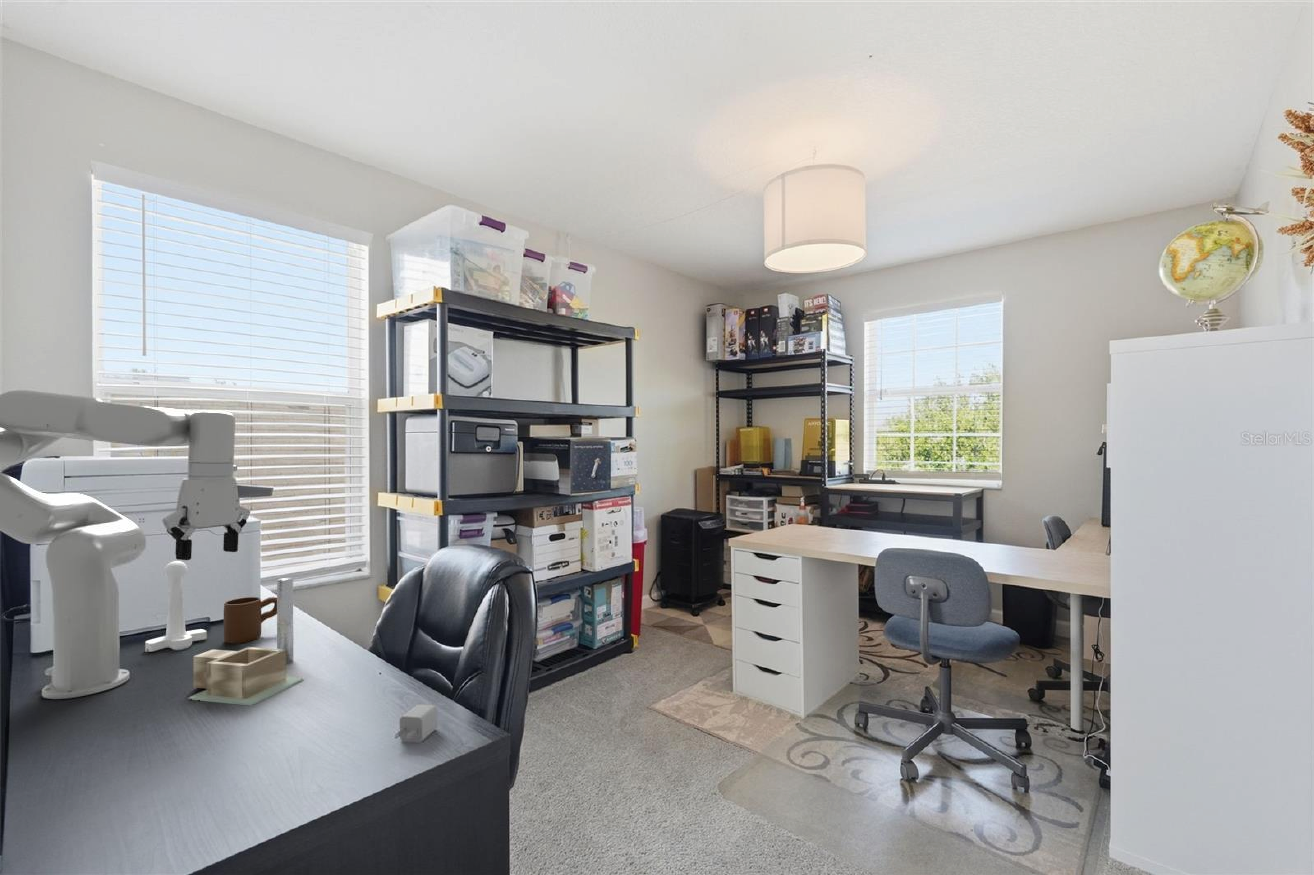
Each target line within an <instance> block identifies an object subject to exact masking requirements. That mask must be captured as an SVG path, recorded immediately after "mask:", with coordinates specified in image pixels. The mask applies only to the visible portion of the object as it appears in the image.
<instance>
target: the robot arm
mask: <svg viewBox="0 0 1314 875" xmlns="http://www.w3.org/2000/svg"><path fill="white" fill-rule="evenodd" d="M62 438H66V439H75V440H82V441H83V440H85V441H89V442H90V441H97V442H104V443H105V442H107V443H115V444H123V445H124V444H125V445H132V446H133V445H134V446H146V447H163V446H164V447H180V446H183V447H184V446H188V457H187V460H188V461H187V462H188V464H187V478H182V481H181V484H180V488H179V491H178V492H179V493H178V496H177V503H176V510H175V511H174V512H172V513H170V514H169V515H167V516H165V517H163V518H162V519H161V520H162V523H163V525H164V527H165V529H166V532H167V533H168V534H169V535H170V536H171V537H172V539H173V540H175V554H174V555H175V558H176V560H177V561H190V560H191V559H192V548H193V547H192V546H193V541H192V539H190V537H191V536H192V534H193V533H194V532H195V531H196V530H201V529H208V528H215V527H216V528H217V527H223V528H224V529H225V531H224V533H223V548H222V549H223V552H229V553H237V552H238V549H239V534H240V533H241V532H242V531H243V528H244V526H245V525H246V524H247V522H248V519H249V517H250V514H251V510H250V509H247V508H246V507H243V506H241V505H240V504H239V502H240V501H239V490H238V484H237V480H236V478H235V477H234V473H235V472H237V470H238V466H237V465H235V462H234V461H235V442H236V440H235V439H236V418H235V415H234V414H233V413H231V412H227V411H214V410H213V411H212V410H197V411H190V410H185V409H177V408H167V407H153V406H142V405H133V404H124V403H116V402H115V403H114V402H106V401H103V400H102V399H100V398H98V397H92V396H91V397H90V396H83V395H82V396H81V395H72V394H71V395H70V394H65V393H57V392H56V393H55V392H46V391H35V390H26V389H25V390H24V389H19V390H18V389H17V390H11V391H7V392H3V393H1V394H0V468H3V467H10V466H11V467H12V466H13V465H17V464H19V463H22V462H24V461H26V460H27V459H29V458H31V457H32V456H34V455H36V454H38V453H40V451H43V450H44V449H45V448H47V447H48V446H51V445H52V444H53V443H56V442H57V441H58V440H60V439H62ZM0 532H2V533H3V534H5V535H7V536H8V537H11V538H12V539H14V540H16V541H18V542H20V543H22V544H30V545H34V544H35V545H36V544H37V545H39V544H45V543H50V544H49V545H48V547H47V549H46V552H45V563H46V569H47V572H48V574H49V580H50V584H51V592H52V613H53V614H52V616H53V618H52V620H53V622H52V623H53V624H52V629H53V633H52V634H53V638H52V639H53V643H52V644H53V645H52V646H53V650H52V651H53V652H52V654H53V656H52V658H53V660H52V661H53V666H51V667H48V668H47V669H45V670H44V675H46V676H51V683H49V684H47V685H45V686H44V687H43V688H42V689H41V697H42V698H44V699H49V700H62V699H65V700H66V699H73V698H80V697H84V696H89V695H93V694H97V693H101V692H105V691H107V690H110V689H113V688H114V689H115V688H117V687H118V686H121V685H123V684H124V683H126V682H127V681H128V680H129V679H130V675H131V674H130V671H129V670H128V669H124V668H120V592H119V591H120V590H119V585H118V583H117V580H116V578H115V575H114V573H113V571H112V570H113V569H114V568H118V567H122V566H124V565H127V564H130V563H132V562H134V561H135V560H137V559H138V558H140V557H141V555H142V554H143V553H144V552H145V550H146V546H147V539H146V538H147V537H146V535H145V533H144V531H143V530H142V529H141V528H140V526H138V525H137V524H136V523H135V522H133V521H132V520H130V519H128V518H127V517H125V516H124V515H122V514H121V513H118V512H117V511H115V510H114V509H112V508H110V507H108V506H107V505H105V504H104V503H102V502H100V501H98V500H97V499H95V498H93V497H91V496H88V495H85V494H82V493H78V492H58V493H44V492H40V491H37V490H35V489H33V488H31V487H29V486H27V485H26V484H24V483H22V482H21V481H19V480H18V479H17V478H14V477H12V476H10V475H8V474H5V473H3V472H0Z"/></svg>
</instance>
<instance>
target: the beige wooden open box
mask: <svg viewBox="0 0 1314 875" xmlns="http://www.w3.org/2000/svg"><path fill="white" fill-rule="evenodd" d="M192 661H193V688H197V689H205V690H207V695H212V696H222V697H233V698H243V699H247V698H249V697H251V696H253V695H256V694H258V693H260V692H262V691H264V690H266V689H268V688H270V687H272V686H274V685H277V684H279V683H281V682H283V681H285V680H286V677H287V664H286V650H282V649H277V648H268V647H267V648H264V647H253V646H252V647H251V646H247V647H244V648H242V649H239V650H225V649H210V650H208V651H205V652H202V653H199V654H196V655H193V660H192Z"/></svg>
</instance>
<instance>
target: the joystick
mask: <svg viewBox="0 0 1314 875" xmlns="http://www.w3.org/2000/svg"><path fill="white" fill-rule="evenodd" d="M187 574H188V566H187V564H186V563H185V562H183V561H182V560H173V561H170V562H169V563H168V564H166V565H165V566H164V569H163V575H164V576H165V578H166V579H168V582H169V585H168V600H167V617H166V628H165V629H166V633H165V635H163V636H159V637H155V638H152V639H148V640H146V641H145V644H144V645H145V652H146V653H149V652H151V653H152V652H155V651H158V650H163V649H165V648H166V649H167V648H170V649H172V650H174V651H180V650H181V651H182V650H185V649H188V648H190V646H192V645H193V642H196V641H203V640H206V639H207V638H208V636H207V635H208V634H207V633H208V632H207V630H205V629H202V628H200V629H192V630H187V631H186V619H185V618H186V617H185V606H184V592H183V579H184V577H185V576H186V575H187Z"/></svg>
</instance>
